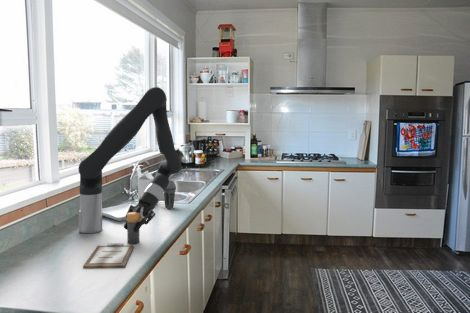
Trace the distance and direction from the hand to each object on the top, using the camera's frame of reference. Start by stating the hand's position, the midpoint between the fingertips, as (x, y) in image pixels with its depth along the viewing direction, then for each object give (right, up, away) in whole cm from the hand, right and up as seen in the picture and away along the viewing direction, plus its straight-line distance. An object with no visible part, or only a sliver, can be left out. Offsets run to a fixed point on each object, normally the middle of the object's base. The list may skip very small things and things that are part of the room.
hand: (129, 229), depth 157 cm
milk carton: (-9, +2, +67) cm, 68 cm away
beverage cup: (+6, +1, +59) cm, 59 cm away
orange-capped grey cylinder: (+1, -6, +2) cm, 6 cm away
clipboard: (-3, -7, -14) cm, 16 cm away
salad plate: (-14, -1, +42) cm, 44 cm away
